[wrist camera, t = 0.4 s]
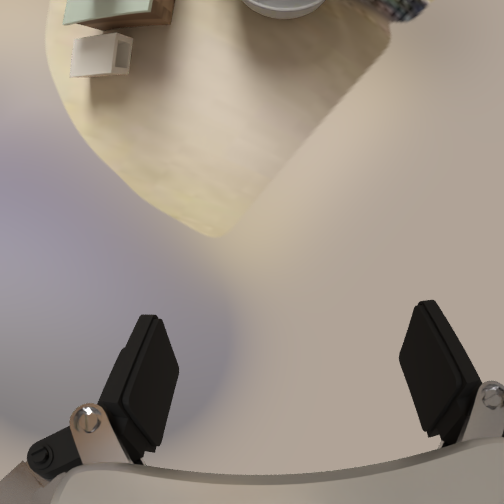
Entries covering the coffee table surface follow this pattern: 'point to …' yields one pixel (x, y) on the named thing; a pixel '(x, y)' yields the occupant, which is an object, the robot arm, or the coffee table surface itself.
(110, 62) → the matte white cube
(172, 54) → the coffee table surface
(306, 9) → the teacup
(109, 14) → the lid
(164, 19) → the brown wooden box
